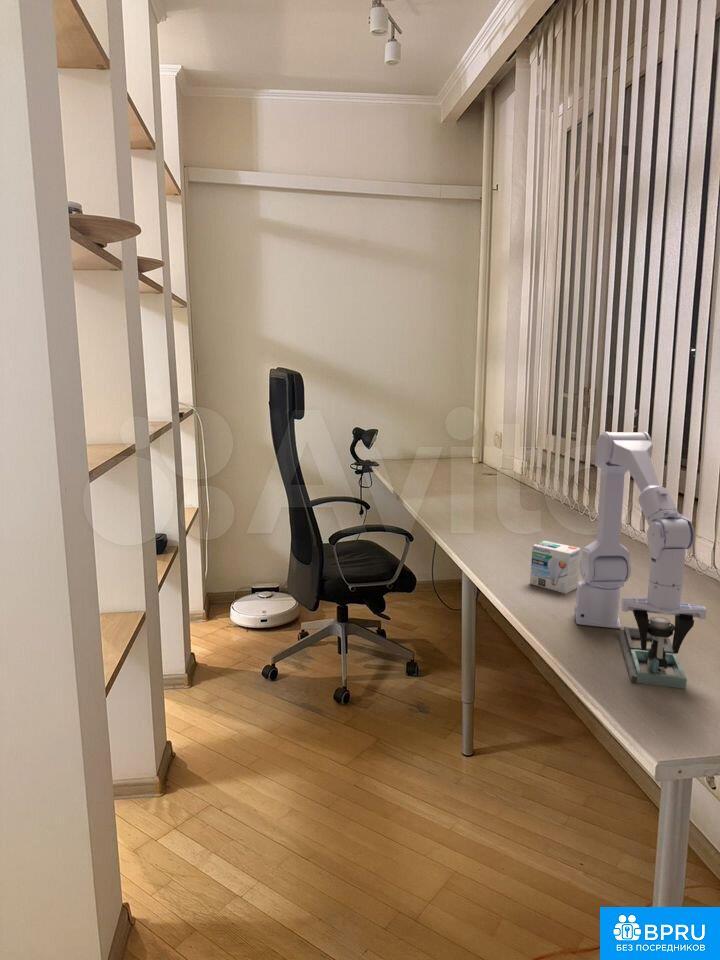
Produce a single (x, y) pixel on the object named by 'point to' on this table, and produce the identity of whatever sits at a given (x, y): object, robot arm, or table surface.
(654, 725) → the table surface
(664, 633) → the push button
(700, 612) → the robot arm
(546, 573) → the light bulb box
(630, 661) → the grey teal rectangular frame
